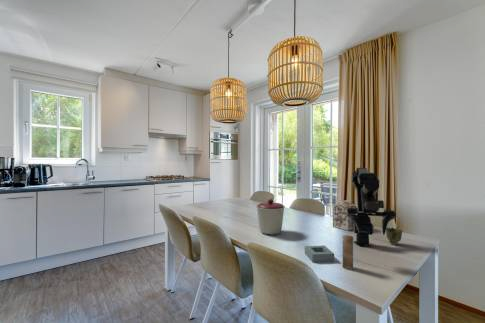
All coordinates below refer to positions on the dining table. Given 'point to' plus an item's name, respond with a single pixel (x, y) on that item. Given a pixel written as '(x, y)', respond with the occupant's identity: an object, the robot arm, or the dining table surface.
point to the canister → (270, 217)
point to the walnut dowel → (347, 252)
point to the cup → (393, 235)
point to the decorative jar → (342, 215)
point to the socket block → (319, 254)
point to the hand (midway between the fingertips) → (371, 233)
